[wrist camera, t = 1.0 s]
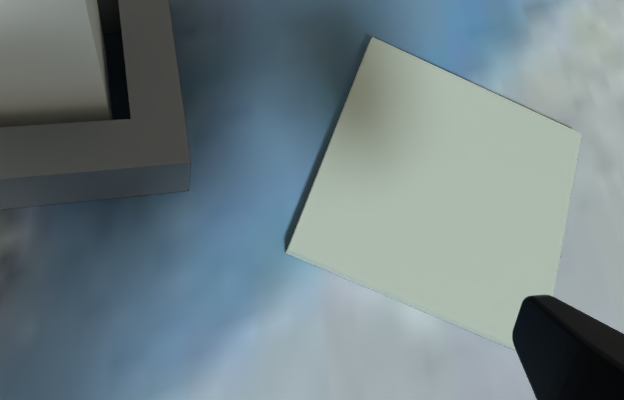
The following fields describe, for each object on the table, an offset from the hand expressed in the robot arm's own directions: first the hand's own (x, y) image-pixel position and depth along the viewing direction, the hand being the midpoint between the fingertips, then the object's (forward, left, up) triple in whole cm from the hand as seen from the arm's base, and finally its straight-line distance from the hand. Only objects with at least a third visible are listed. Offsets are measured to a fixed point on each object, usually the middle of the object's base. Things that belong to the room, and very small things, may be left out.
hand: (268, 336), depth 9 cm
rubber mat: (+14, -2, -14) cm, 20 cm away
